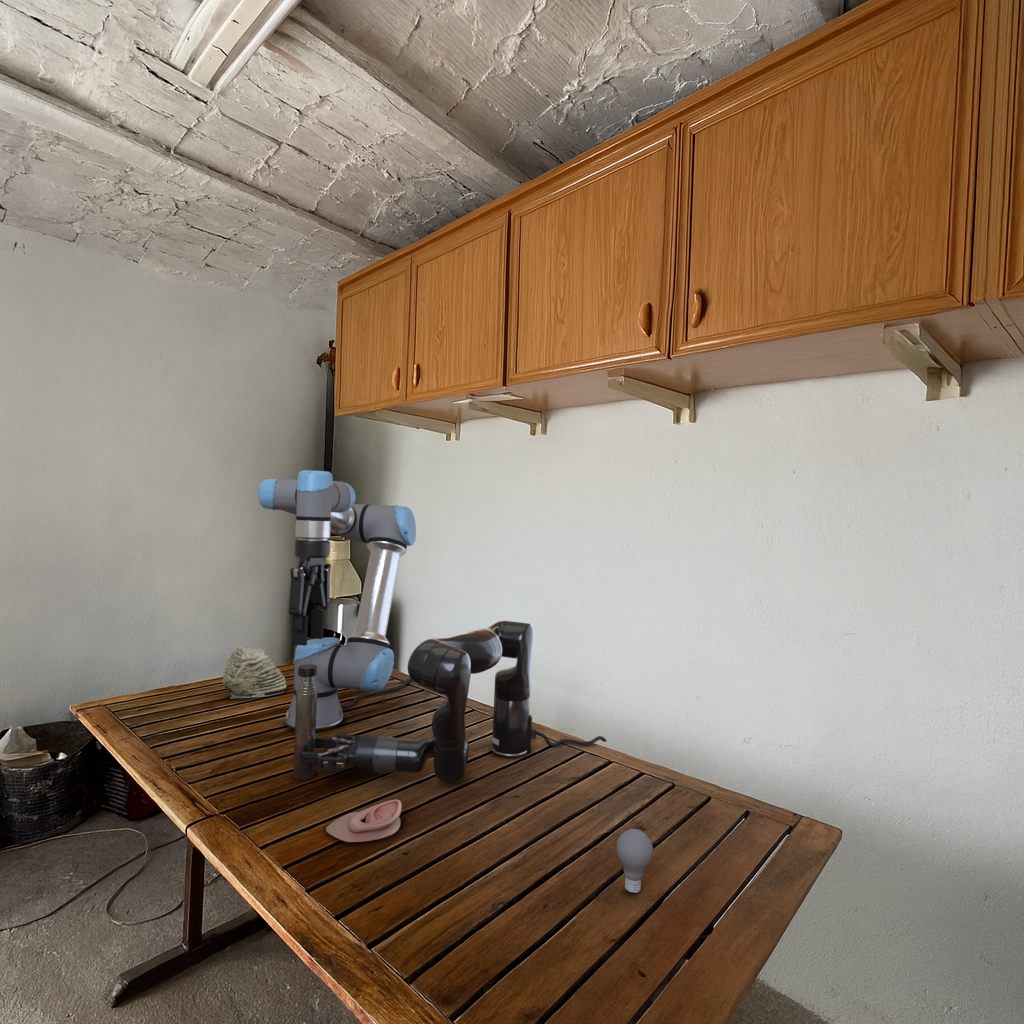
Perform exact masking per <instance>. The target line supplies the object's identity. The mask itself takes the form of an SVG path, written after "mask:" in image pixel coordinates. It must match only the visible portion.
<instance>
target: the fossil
mask: <svg viewBox="0 0 1024 1024" xmlns="http://www.w3.org/2000/svg"><path fill="white" fill-rule="evenodd" d="M222 676H223V677H222V685H223V687H224V688H225V690H226V691H228V693H229V698H230V699H250V698H264V697H271V696H275V695H281V694H284V693H285V691H286V689H287V687H288V686H287V680H286V678H285V676H284V674H283V673H282V672H281V669H279V668H278V667H277V665H276V663H275V662H274V660H273V659H272V658H271V657H270V656H269V655H268V654H267V653H266V652H265V650H264V649H263V648H260V647H258V648H251V647H247V646H246V647H245V646H238V647H237V648H236V649H235V650H233V651H232V653H231V656H230V657H229V659H228V660H227V663H226V666H225V668H224V671H223V675H222Z"/></svg>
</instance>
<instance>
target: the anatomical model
mask: <svg viewBox="0 0 1024 1024" xmlns="http://www.w3.org/2000/svg"><path fill="white" fill-rule="evenodd" d="M402 808H403V804H402V802H401V800H399V799H391V800H387V801H383V802H380V803H377V804H374V805H372V806H370V807H367V808H365V809H362V810H360V811H353V812H350V813H347V814H344V815H342V816H340V817H338V818H337V819H335V820H333V821H332V822H330V823H329V825H327V826H326V828H325V832H326V833H327V834H329V835H330V836H332V837H333V838H335V839H338V840H340V841H342V842H345V843H360V842H361V843H363V842H371V841H375V840H381V839H384V838H387V837H389V836H392V835H394V834H395V833H397V832H398V831H399V829H400V827H401V824H402V823H401V817H400V816H401V813H402Z"/></svg>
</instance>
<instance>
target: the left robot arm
mask: <svg viewBox="0 0 1024 1024" xmlns="http://www.w3.org/2000/svg"><path fill="white" fill-rule="evenodd" d="M356 497H357V496H356V491H355V489H354V487H352V485H350V484H349V483H347V482H344V481H342V480H333V474H332V472H330V471H326V470H311V469H310V470H307V469H304V470H300V471H298V474H297V479H292V478H291V479H288V478H279V477H276V478H266V479H264V480H262V481H261V483H260V485H259V486H258V491H257V499H258V503H259V505H260V506H261V508H263V509H265V510H272V511H284V512H286V513H289V514H291V515H293V516H295V525H294V528H295V537H296V538H297V539H295V541H294V556H295V557H296V558H299V561H298V565H297V567H296V568H295V567H292V568H290V570H289V572H290V590H289V600H288V602H289V603H288V614H289V615H290V616H294V631H293V632H294V634H293V645H296V647H295V652H294V653H295V654H294V659H293V661H294V672H293V695H292V696H293V697H292V699H291V702H290V704H289V708H288V710H286V713H285V726H286V728H287V729H289V730H291V731H295V714H296V692H297V688H298V686H299V683H300V680H301V677H300V676H298V669H299V666H300V665H304V664H314V665H317V675H316V676H314V680H315V683H316V684H315V685H316V687H317V714H316V733H317V732H325V731H329V730H332V729H335V728H337V727H339V726H340V725H342V723H343V722H344V714H343V709H347V708H350V707H352V706H353V705H354V704H355V703H356V702H357V701H358V700H360V699H364V698H367V697H373V696H377V695H383V694H386V693H390V692H394V691H397V690H400V689H402V688H404V687H406V686H407V685H408V684H409V683H411V682H413V680H412V679H411V678H410V677H409V679H407V680H406V681H405V682H404V683H402V684H400V685H398V686H394V687H390V688H386V689H384V687H385V686H386V685H387V684H388V682H389V680H390V678H391V675H392V673H393V670H394V666H395V665H394V664H395V654H394V653H395V652H394V651H393V650H392V649H391V648H390V645H391V644H390V641H389V639H387V637H386V636H387V629H388V625H389V619H390V614H391V608H392V603H393V597H394V592H395V586H396V580H397V575H398V570H399V564H400V558H401V557H402V556H403V555H405V554H406V553H407V549H408V547H411V546H413V545H414V544H415V542H416V539H417V524H416V517H415V515H414V512H413V511H412V509H411V508H410V507H408V506H402V505H397V504H394V505H387V504H367V503H359V504H358V503H356V499H357V498H356ZM331 534H333V535H336V536H339V537H341V538H344V539H347V540H349V541H353V542H357V543H365V544H366V547H367V549H368V550H369V552H370V553H369V559H368V564H367V569H366V573H365V580H364V584H363V589H362V594H361V599H360V602H359V603H360V604H359V608H358V613H357V619H356V623H355V628H354V632H353V633H352V634H350V635H349V636H348V637H347V641H346V644H340V643H341V641H340V639H339V638H338V637H334V636H331V637H330V636H329V637H324V623H325V622H324V621H325V620H324V619H325V611H328V610H329V609H330V605H331V570H332V564H331V563H325V558H328V557H329V556H330V552H331V551H330V549H331V542H330V540H328V539H330V538H331ZM310 595H311V596H312V603H313V609H311V613H310V615H311V616H310V617H311V618H310V639H308V627H309V626H308V625H309V615H307V610H308V606H309V600H310ZM338 689H342V690H343V689H344V690H351V691H353V690H354V691H362V692H365V693H363V694H360V695H358V696H356V697H354V698H353V699H352V701H350V702H349V703H346V704H341V702H340V699H339V695H338ZM382 689H383V690H382ZM366 692H368V693H366Z"/></svg>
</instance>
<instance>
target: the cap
mask: <svg viewBox="0 0 1024 1024" xmlns="http://www.w3.org/2000/svg"><path fill="white" fill-rule="evenodd" d="M316 675H317V665H314V664H304V665H300V666H299V669H298V676H300V677H313V676H316Z"/></svg>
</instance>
